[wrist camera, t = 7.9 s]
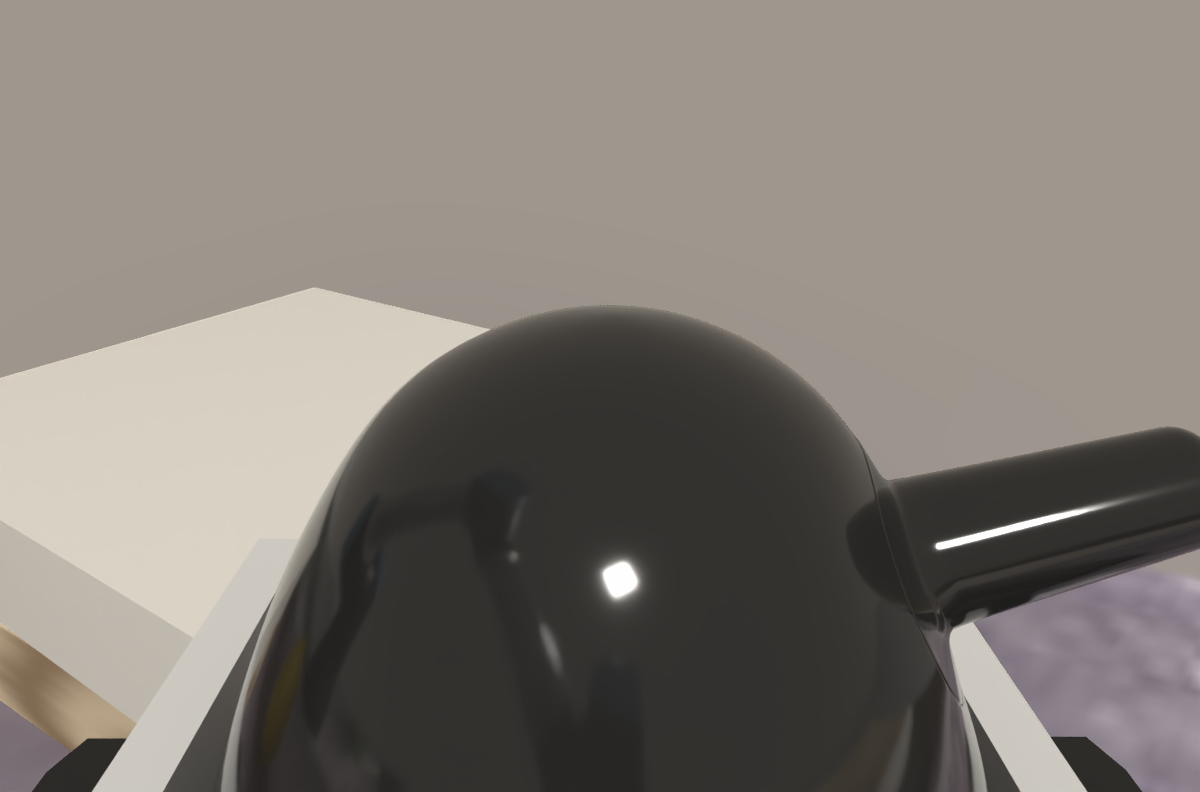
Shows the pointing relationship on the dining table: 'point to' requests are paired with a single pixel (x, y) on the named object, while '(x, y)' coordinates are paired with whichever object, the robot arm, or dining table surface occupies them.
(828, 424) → the pump dispenser
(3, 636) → the tower base
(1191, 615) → the dining table surface
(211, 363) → the tower top
